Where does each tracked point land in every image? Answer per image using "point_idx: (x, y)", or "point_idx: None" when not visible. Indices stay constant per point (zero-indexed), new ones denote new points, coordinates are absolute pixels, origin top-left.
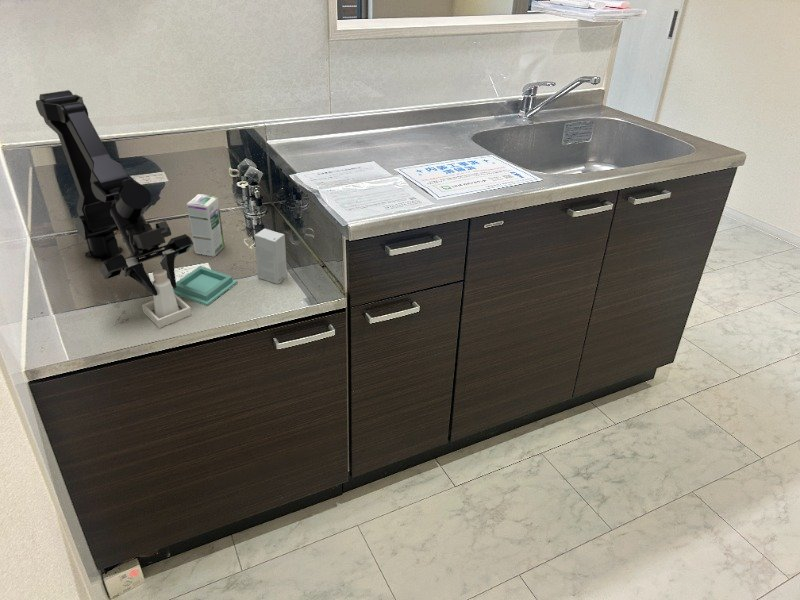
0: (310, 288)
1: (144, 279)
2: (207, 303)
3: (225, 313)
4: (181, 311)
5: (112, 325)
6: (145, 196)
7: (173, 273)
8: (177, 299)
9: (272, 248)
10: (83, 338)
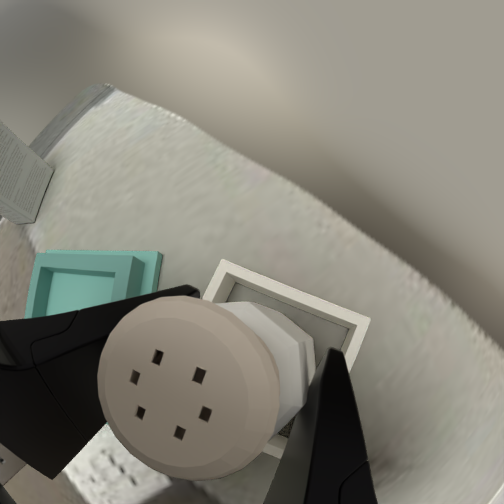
0: (68, 122)
1: (363, 483)
2: (155, 251)
3: (181, 182)
4: (261, 276)
5: (413, 472)
6: None
7: (98, 312)
8: None
9: None
10: (484, 470)
